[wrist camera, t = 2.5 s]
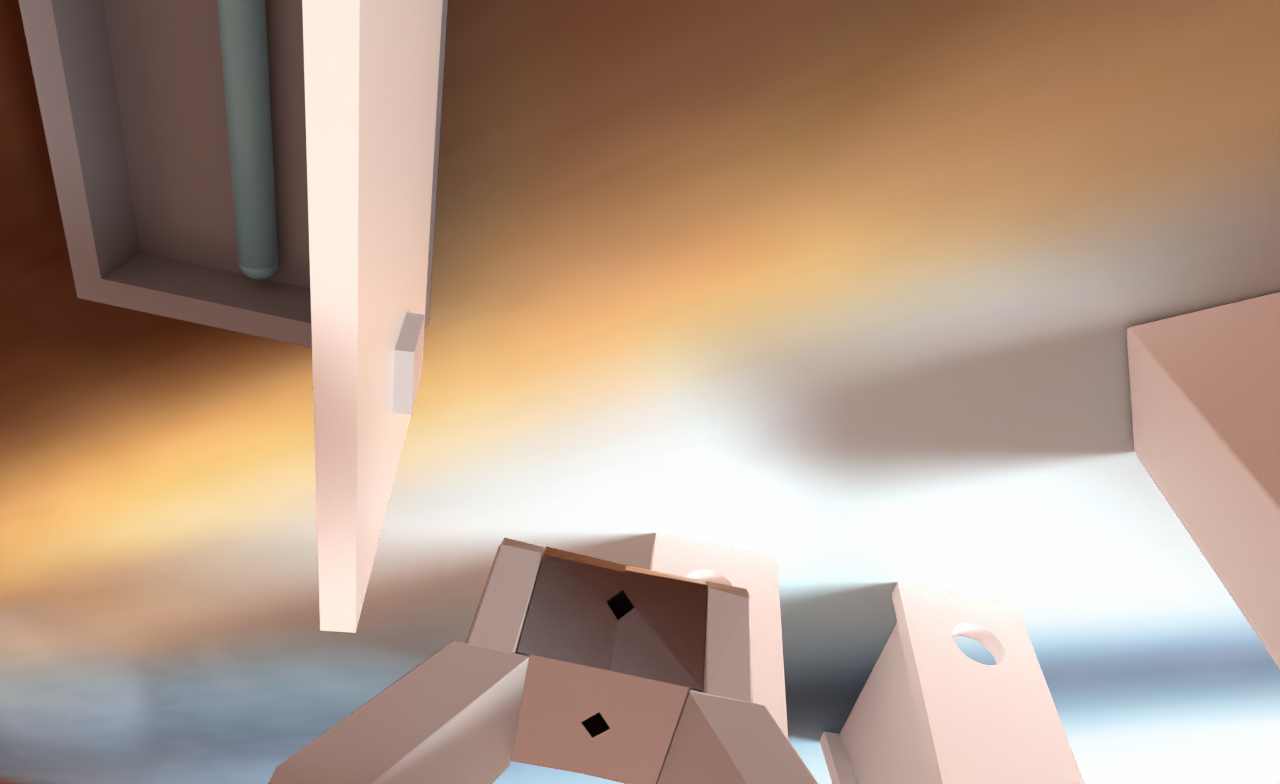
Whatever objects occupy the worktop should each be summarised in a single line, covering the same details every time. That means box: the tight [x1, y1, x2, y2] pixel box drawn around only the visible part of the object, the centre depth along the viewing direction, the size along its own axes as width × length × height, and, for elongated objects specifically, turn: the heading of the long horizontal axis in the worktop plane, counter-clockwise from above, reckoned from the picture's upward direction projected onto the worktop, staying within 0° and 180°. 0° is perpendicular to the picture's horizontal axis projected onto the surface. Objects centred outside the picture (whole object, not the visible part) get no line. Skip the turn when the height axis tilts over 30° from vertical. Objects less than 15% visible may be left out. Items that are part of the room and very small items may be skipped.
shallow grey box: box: [19, 0, 448, 348], centre depth 31 cm, size 26×14×4 cm, turn 169°
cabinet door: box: [302, 0, 443, 633], centre depth 23 cm, size 26×14×2 cm
